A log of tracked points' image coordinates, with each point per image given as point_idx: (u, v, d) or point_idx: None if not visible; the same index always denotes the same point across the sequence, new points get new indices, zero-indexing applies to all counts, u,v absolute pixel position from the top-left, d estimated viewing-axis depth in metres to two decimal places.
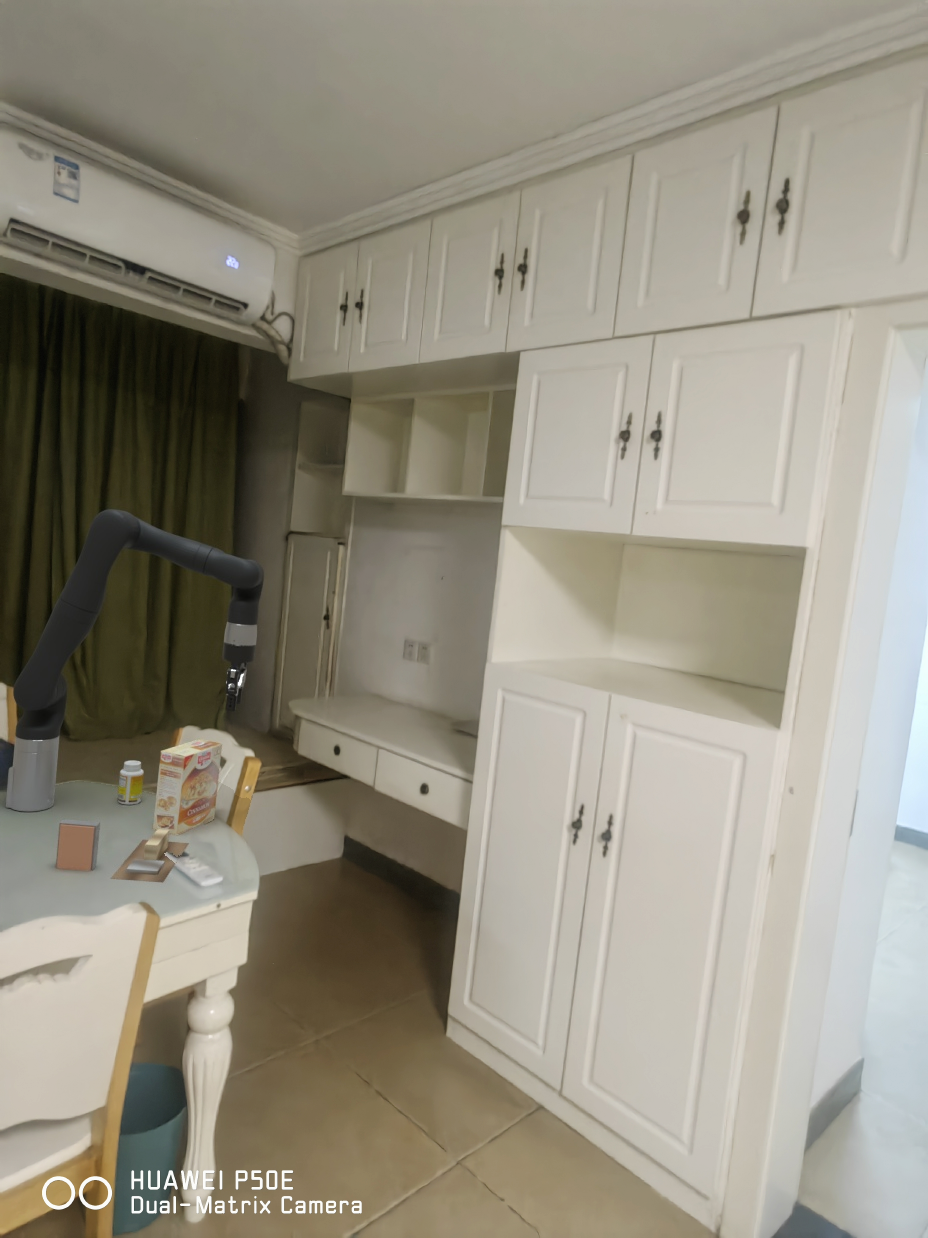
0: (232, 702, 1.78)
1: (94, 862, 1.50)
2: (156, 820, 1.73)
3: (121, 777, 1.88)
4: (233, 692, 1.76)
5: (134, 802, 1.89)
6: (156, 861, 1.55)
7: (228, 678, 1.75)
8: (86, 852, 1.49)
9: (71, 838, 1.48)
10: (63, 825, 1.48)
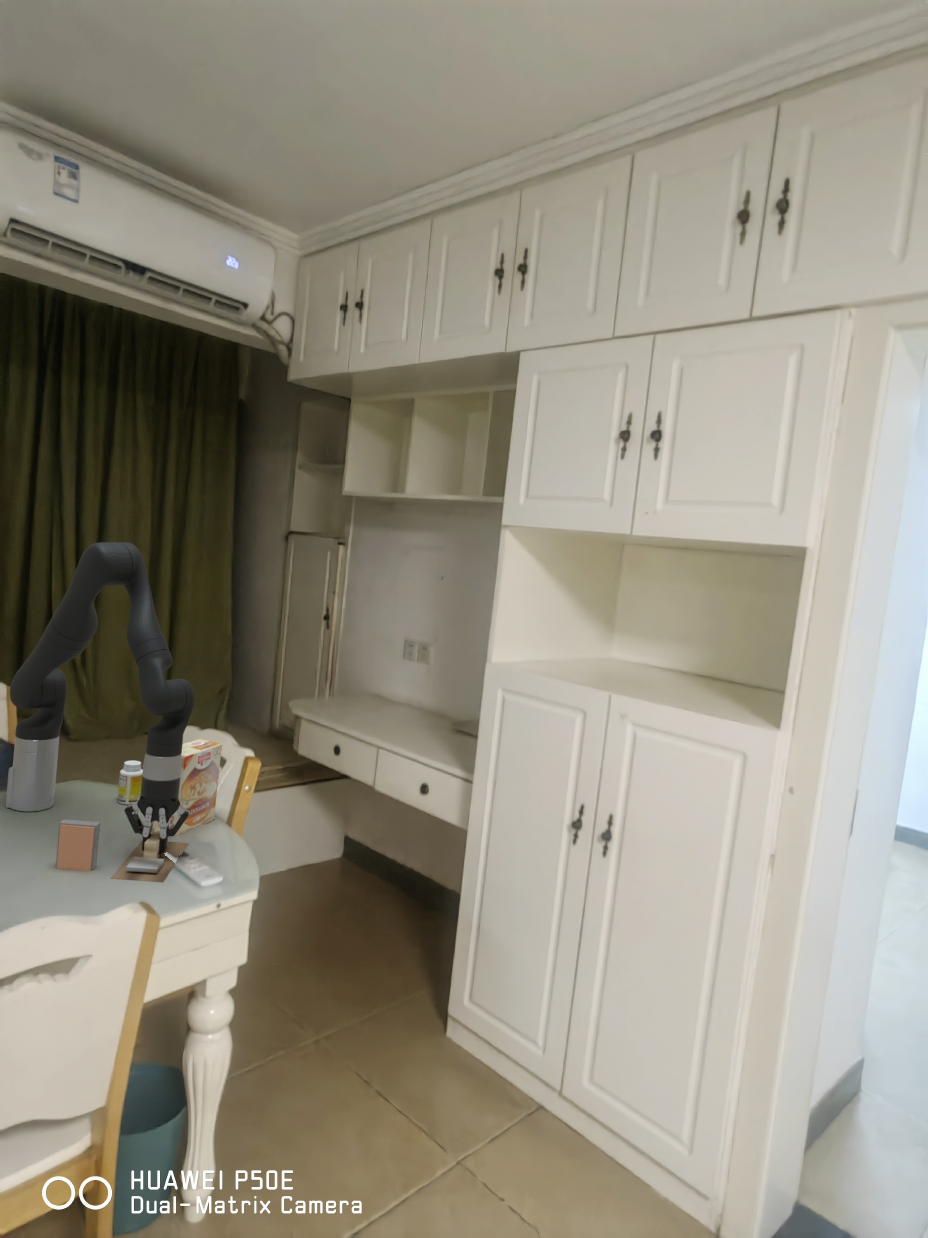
0: None
1: (94, 862, 1.50)
2: None
3: (121, 777, 1.88)
4: None
5: (134, 802, 1.89)
6: (156, 859, 1.55)
7: (183, 822, 1.58)
8: (86, 852, 1.49)
9: (71, 838, 1.48)
10: (63, 825, 1.48)
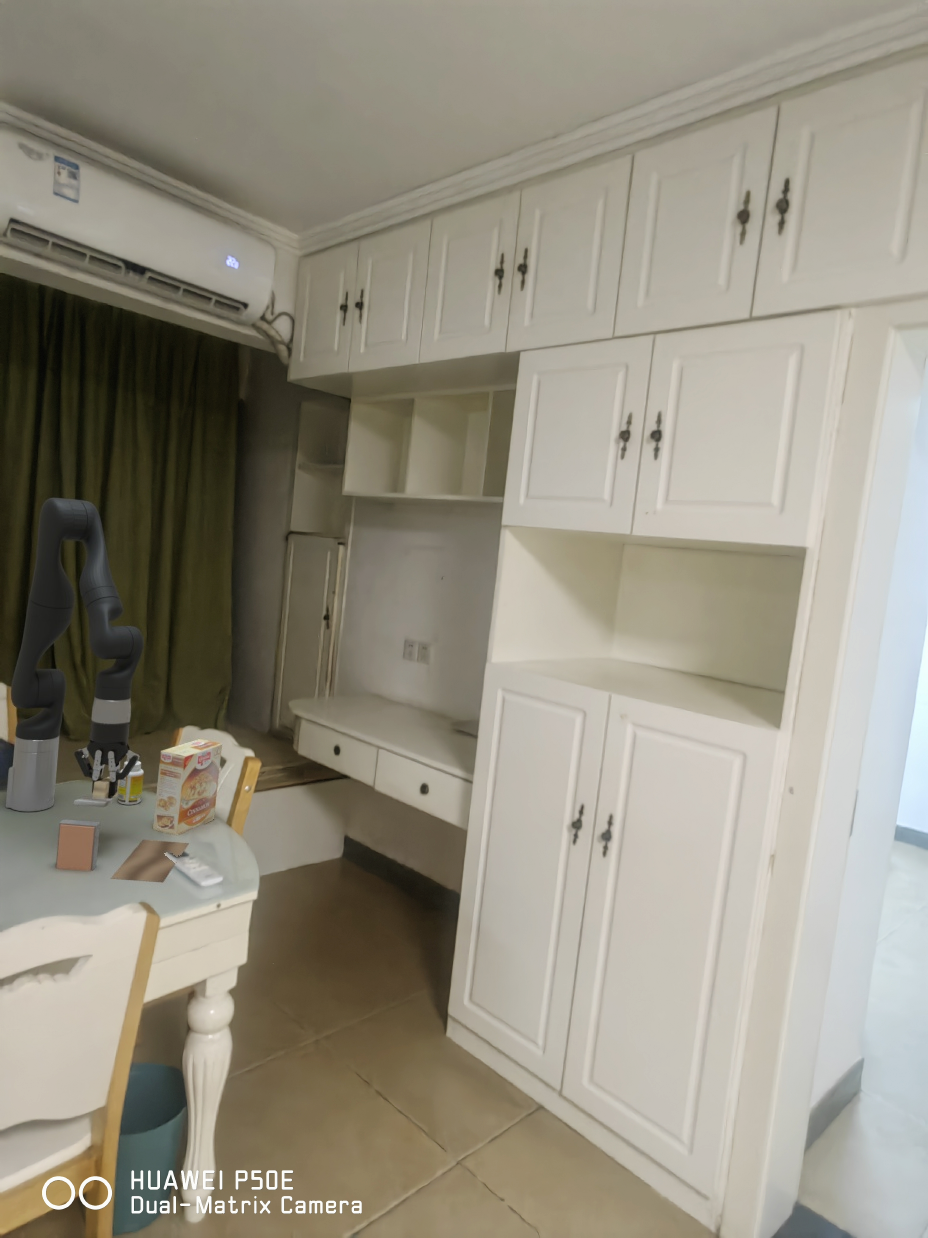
0: (117, 786, 1.63)
1: (94, 862, 1.50)
2: (156, 820, 1.73)
3: None
4: (127, 774, 1.63)
5: (134, 802, 1.89)
6: (104, 798, 1.58)
7: (132, 766, 1.61)
8: (86, 852, 1.49)
9: (71, 838, 1.48)
10: (63, 825, 1.48)
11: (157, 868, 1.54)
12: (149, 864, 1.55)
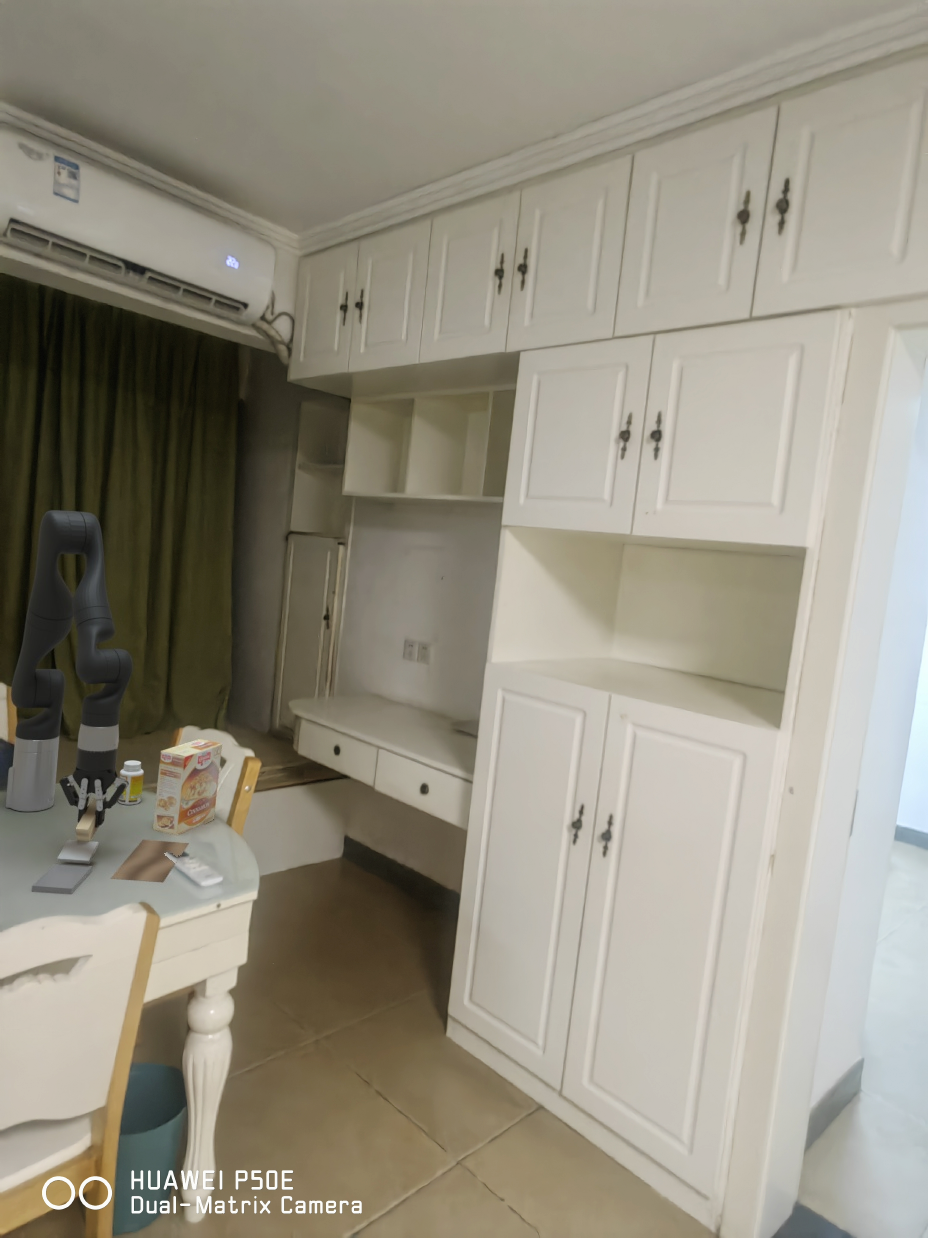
0: (104, 815, 1.56)
1: None
2: (156, 820, 1.73)
3: (121, 777, 1.88)
4: (114, 803, 1.57)
5: (134, 802, 1.89)
6: (89, 843, 1.52)
7: (120, 794, 1.55)
8: None
9: None
10: None
11: (157, 868, 1.54)
12: (149, 864, 1.55)
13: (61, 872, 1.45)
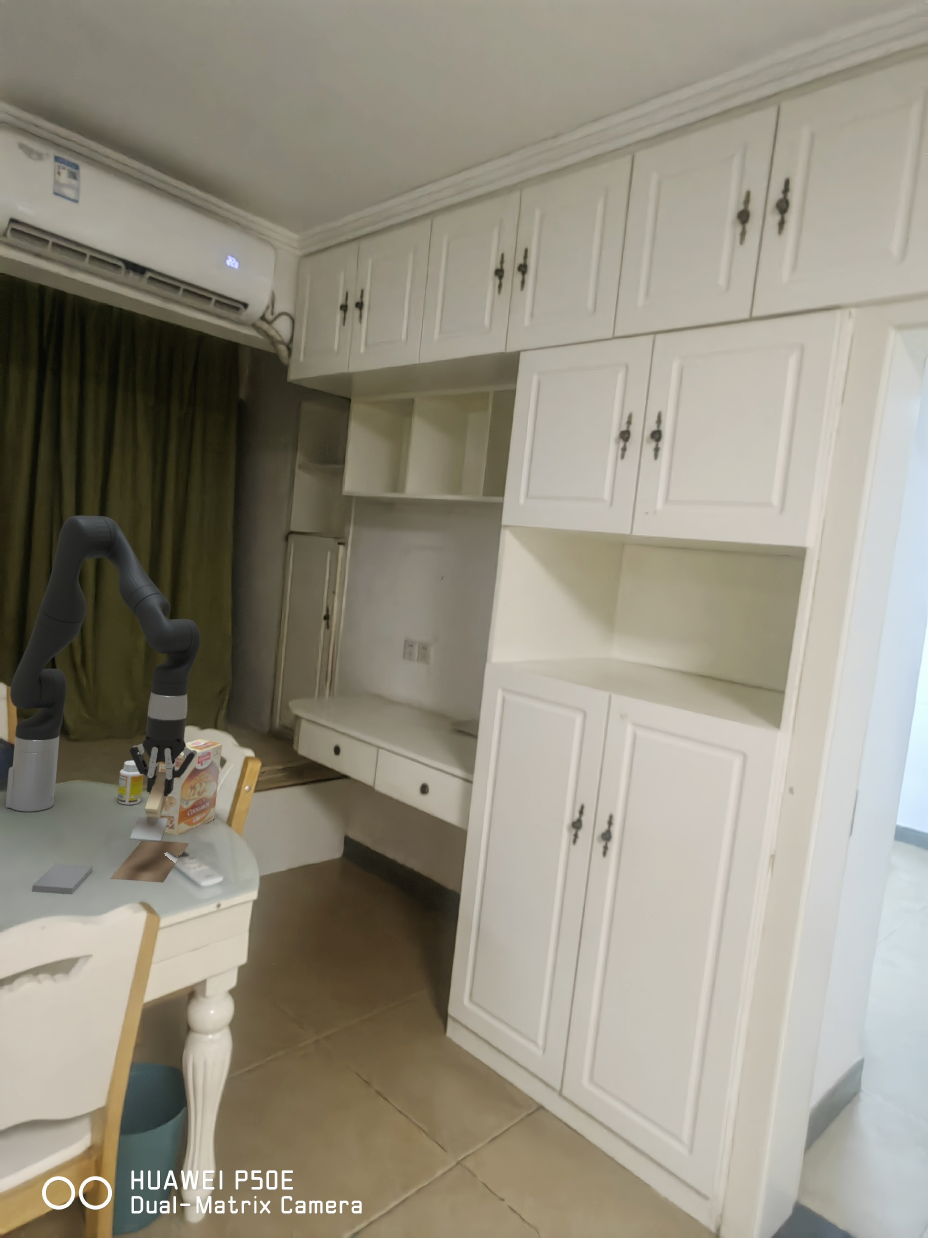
0: None
1: None
2: None
3: (121, 777, 1.88)
4: (183, 772, 1.58)
5: (134, 802, 1.89)
6: (159, 820, 1.54)
7: (189, 763, 1.57)
8: None
9: None
10: None
11: (157, 868, 1.54)
12: (149, 864, 1.55)
13: (61, 871, 1.45)
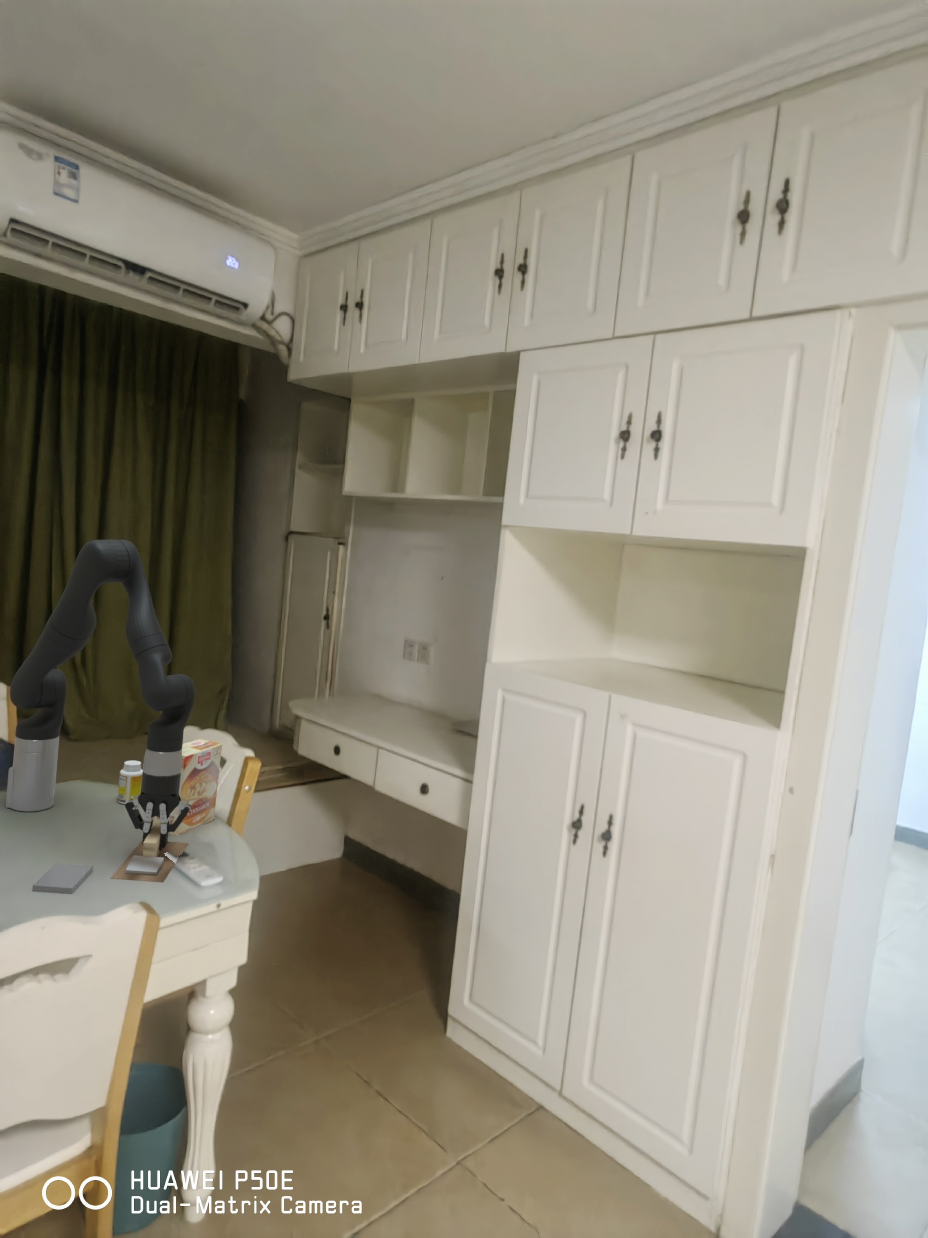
0: (167, 838, 1.59)
1: None
2: None
3: (121, 777, 1.88)
4: None
5: None
6: (155, 858, 1.55)
7: None
8: None
9: None
10: None
11: None
12: None
13: (61, 871, 1.45)
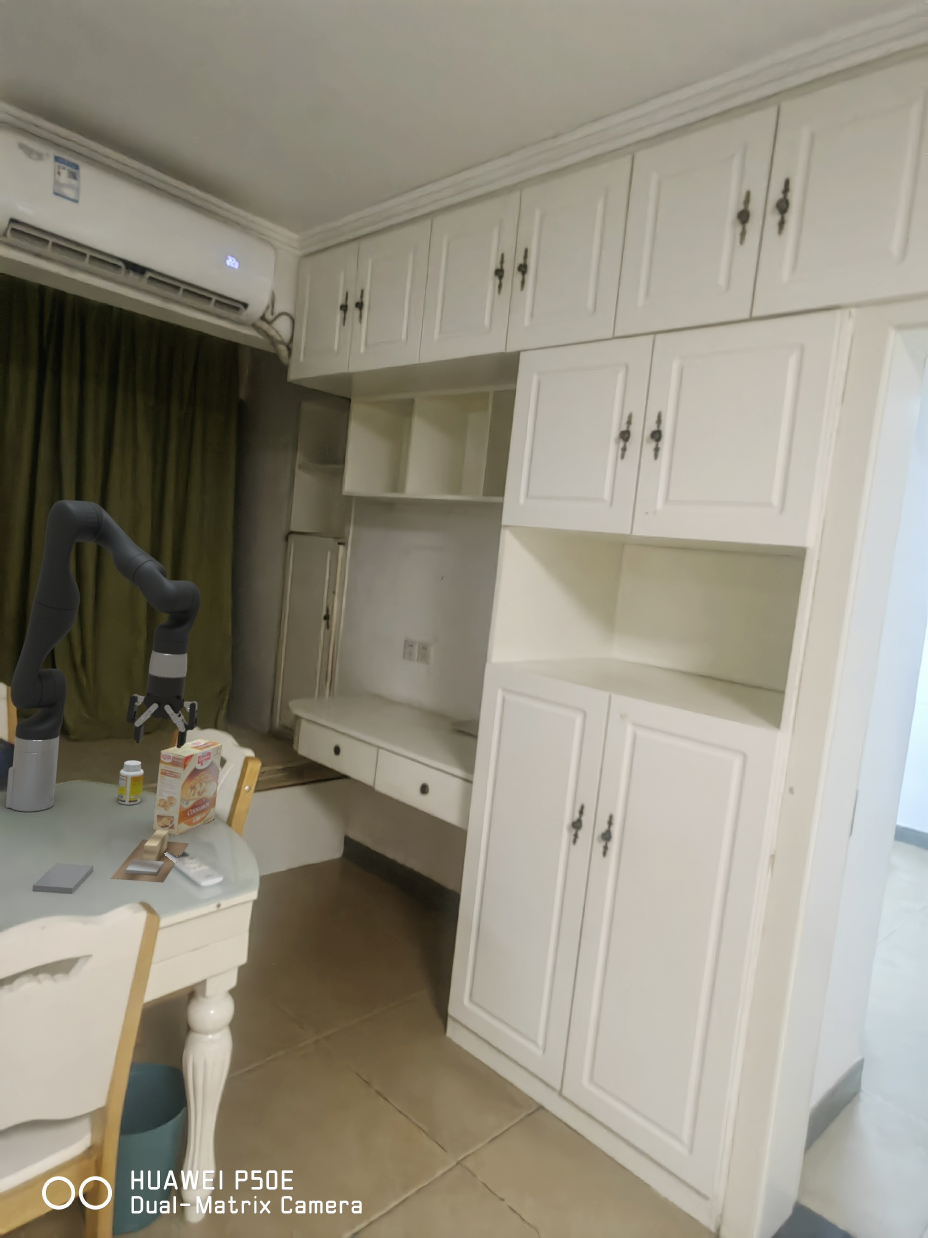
0: None
1: None
2: (156, 820, 1.73)
3: (121, 777, 1.88)
4: (196, 725, 1.64)
5: (134, 802, 1.89)
6: (155, 862, 1.55)
7: (195, 713, 1.62)
8: None
9: None
10: None
11: None
12: None
13: (62, 871, 1.45)
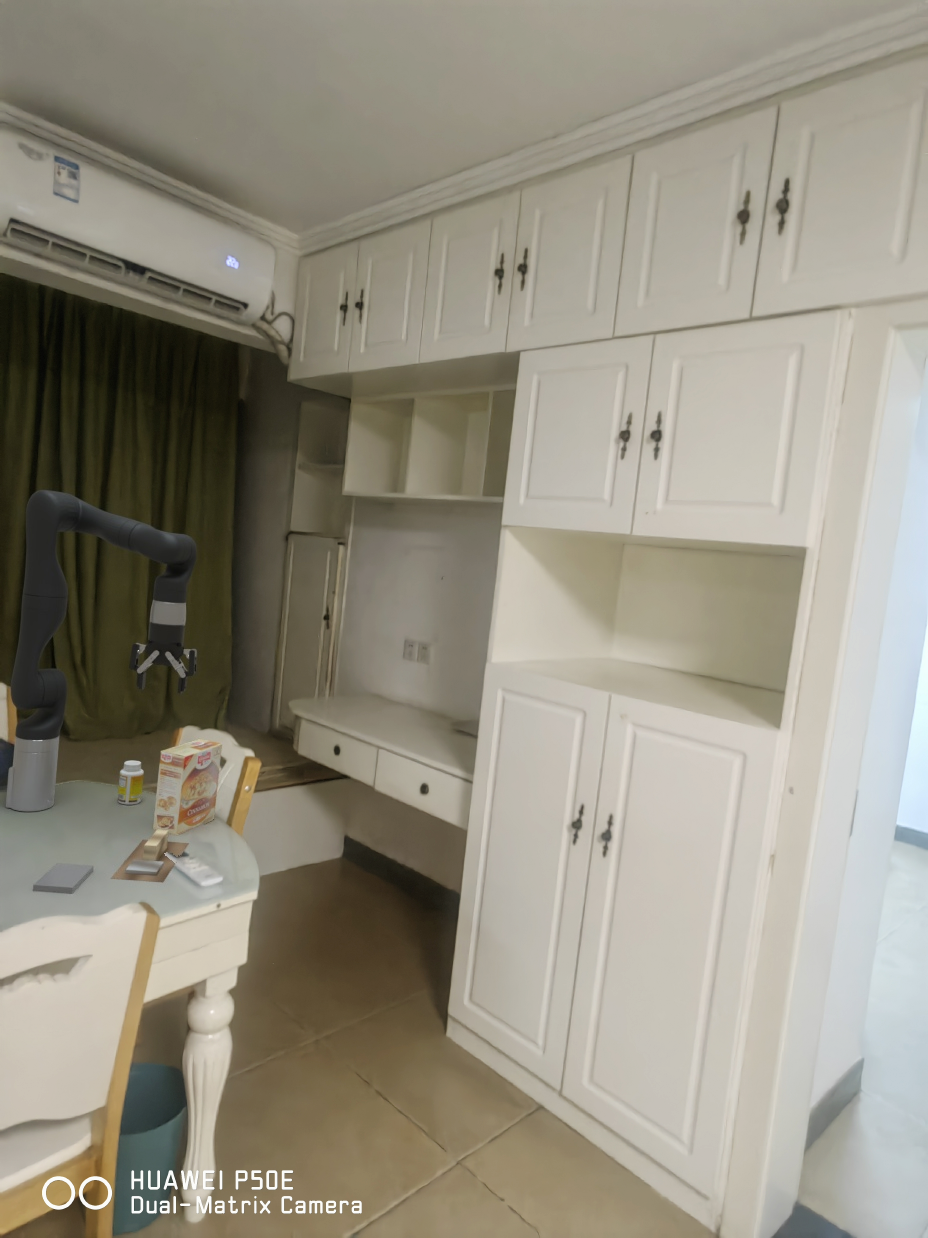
0: (186, 683, 1.72)
1: None
2: (156, 820, 1.73)
3: (121, 777, 1.88)
4: (195, 672, 1.72)
5: (134, 802, 1.89)
6: (155, 862, 1.55)
7: (194, 659, 1.71)
8: None
9: None
10: None
11: None
12: None
13: (62, 871, 1.45)
